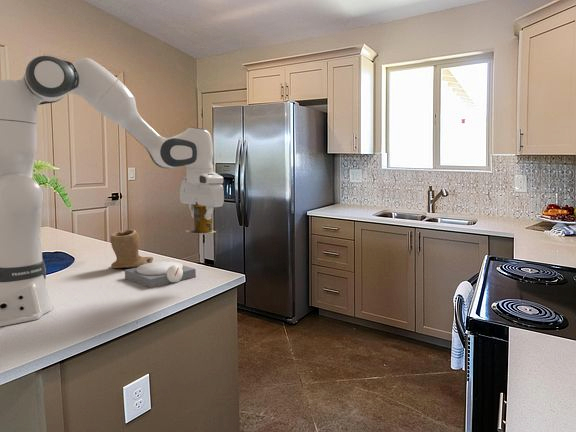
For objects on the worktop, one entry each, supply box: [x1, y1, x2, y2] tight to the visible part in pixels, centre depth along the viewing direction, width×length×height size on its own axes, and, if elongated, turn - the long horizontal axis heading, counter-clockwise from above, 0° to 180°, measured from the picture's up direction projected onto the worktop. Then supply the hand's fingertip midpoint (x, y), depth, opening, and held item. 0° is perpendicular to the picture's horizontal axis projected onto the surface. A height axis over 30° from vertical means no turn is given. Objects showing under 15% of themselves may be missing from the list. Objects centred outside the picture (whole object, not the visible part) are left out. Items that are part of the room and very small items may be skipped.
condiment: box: [185, 202, 217, 235], centre depth 148 cm, size 7×8×12 cm
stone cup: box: [109, 229, 154, 269], centre depth 173 cm, size 15×12×15 cm
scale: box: [124, 260, 197, 289], centre depth 158 cm, size 18×19×6 cm
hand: (201, 218), depth 148 cm, fingers closed on condiment, 6 cm apart
